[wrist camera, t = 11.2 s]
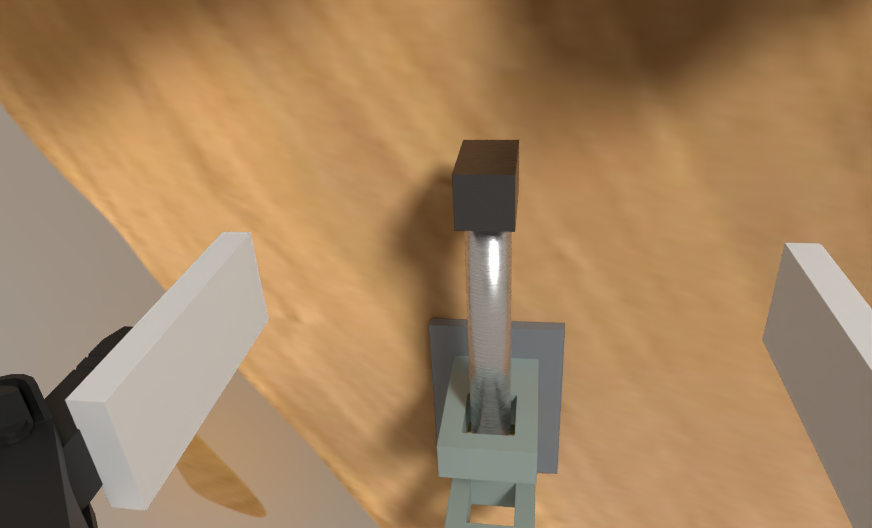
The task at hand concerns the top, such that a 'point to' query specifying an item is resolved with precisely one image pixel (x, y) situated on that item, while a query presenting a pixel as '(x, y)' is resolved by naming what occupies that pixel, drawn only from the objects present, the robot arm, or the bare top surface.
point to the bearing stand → (497, 454)
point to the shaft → (488, 272)
